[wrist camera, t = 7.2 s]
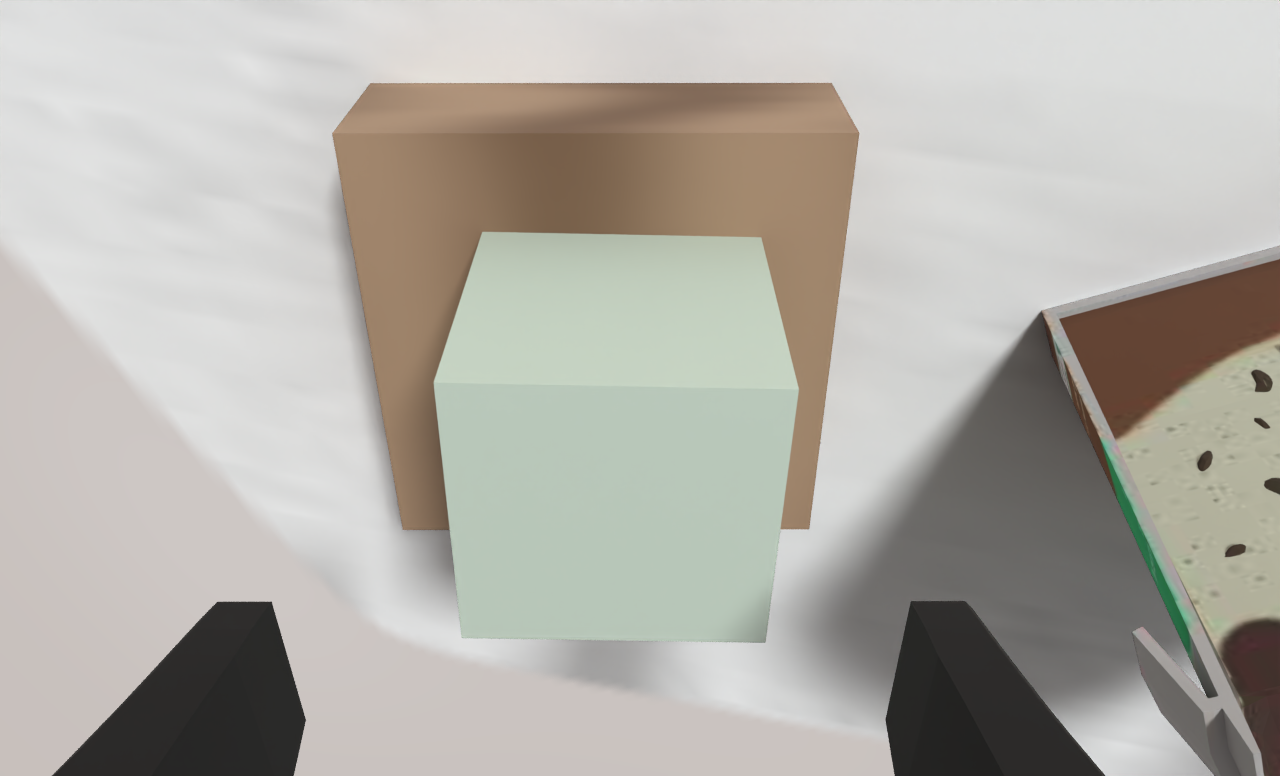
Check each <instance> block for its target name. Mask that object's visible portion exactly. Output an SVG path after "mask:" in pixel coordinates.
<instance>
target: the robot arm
mask: <svg viewBox="0 0 1280 776" xmlns="http://www.w3.org/2000/svg"><path fill="white" fill-rule="evenodd" d="M305 721H306V719H305V716H304V712H303V709H302V705H301V702H300V698H299V695H298V691H297V688H296V685H295V681H294V678H293V674H292V671H291V667H290V664H289V660H288V657H287V654H286V650H285V647H284V643H283V640H282V636H281V633H280V629H279V626H278V623H277V619H276V616H275V612H274V609H273V605H272V602H217V603H216V604H215V605H214V606H213V607H212V608H211V609H210V610H209V611H208V612H207V613H206V614H205V615H204V616H203V617H202V618H201V619H200V620H199V621H198V622H197V623H196V624H195V626H194V627H193V628H192V629H191V630H190V631H189V632H188V633H187V634H186V635H185V636H184V637H183V638H182V640H181V641H180V642H179V643H178V644H177V645H176V646H175V647H174V648H173V649H172V650H171V651H170V653H169V654H168V655H167V656H166V657H165V658H164V659H163V660H162V661H161V662H160V663H159V665H158V666H157V667H156V668H155V669H154V670H153V671H152V672H151V673H150V674H149V675H148V676H147V677H146V679H145V680H144V681H143V682H142V683H141V684H140V685H139V686H138V687H137V688H136V689H135V690H134V691H133V692H132V694H131V695H130V696H129V697H128V698H127V699H126V700H125V701H124V702H123V703H122V704H121V705H120V706H119V708H117V710H116V711H115V712H114V713H113V714H112V715H111V716H110V717H109V718H108V719H107V720H106V721H105V722H104V723H103V724H102V725H101V726H100V727H99V728H98V729H97V730H96V731H95V732H94V733H93V734H92V735H91V736H90V737H89V738H88V739H87V741H86V742H85V743H84V744H83V745H82V746H81V747H80V748H79V749H78V750H77V751H76V752H75V753H74V754H73V755H72V756H71V757H70V758H69V759H68V760H67V761H66V762H65V763H64V764H63V765H62V766H61V767H60V768H59V769H58V770H57V771H56V772H55V773H54V774H53V775H52V776H293V775H294V771H295V767H296V762H297V758H298V753H299V749H300V744H301V740H302V735H303V730H304V726H305ZM886 725H887V731H888V737H889V743H890V750H891V756H892V762H893V768H894V774H895V776H1105V775H1104V774H1103V772H1102V771H1101V770H1100V769H1099V768H1098V766H1097V765H1096V764H1095V763H1094V762H1093V761H1092V759H1091V758H1090V757H1089V756H1088V755H1087V753H1086V752H1085V751H1084V750H1083V749H1082V748H1081V746H1080V745H1079V744H1078V743H1077V742H1076V740H1075V739H1074V738H1073V737H1072V736H1071V735H1070V733H1069V732H1068V731H1067V730H1066V729H1065V727H1064V726H1063V725H1062V724H1061V722H1060V721H1059V720H1058V719H1057V718H1056V716H1055V715H1054V714H1053V713H1052V711H1051V710H1050V709H1049V708H1048V706H1047V705H1046V704H1045V703H1044V701H1043V700H1042V699H1041V698H1040V696H1039V695H1038V694H1037V692H1036V691H1035V690H1034V689H1033V687H1032V686H1031V685H1030V684H1029V682H1028V681H1027V680H1026V678H1025V677H1024V676H1023V675H1022V673H1021V672H1020V671H1019V669H1018V668H1017V667H1016V666H1015V664H1014V663H1013V662H1012V660H1011V659H1010V658H1009V656H1008V655H1007V654H1006V653H1005V651H1004V650H1003V649H1002V647H1001V646H1000V645H999V643H998V642H997V641H996V639H995V638H994V637H993V635H992V634H991V633H990V631H989V630H988V629H987V627H986V626H985V625H984V623H983V622H982V621H981V619H980V618H979V617H978V615H977V614H976V613H975V611H974V610H973V609H972V608H971V607H970V606H969V605H968V604H967V603H966V602H965V601H911V603H910V608H909V613H908V617H907V622H906V627H905V631H904V636H903V641H902V645H901V650H900V655H899V659H898V664H897V669H896V673H895V678H894V683H893V687H892V692H891V697H890V701H889V706H888V711H887V715H886Z"/></svg>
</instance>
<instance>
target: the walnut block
mask: <svg viewBox="0 0 1280 776" xmlns="http://www.w3.org/2000/svg"><path fill="white" fill-rule="evenodd" d="M332 134H333V140H334V146H335V151H336V157H337V162H338V168H339V174H340V179H341V185H342V190H343V196H344V202H345V207H346V213H347V218H348V224H349V230H350V235H351V241H352V247H353V252H354V258H355V263H356V269H357V275H358V280H359V286H360V291H361V297H362V303H363V308H364V314H365V319H366V325H367V331H368V336H369V342H370V348H371V353H372V359H373V364H374V370H375V376H376V381H377V387H378V392H379V398H380V404H381V409H382V415H383V420H384V426H385V432H386V437H387V443H388V449H389V454H390V460H391V465H392V471H393V477H394V482H395V488H396V493H397V499H398V505H399V510H400V516H401V521H402V527H403V530H450V527H449V518H448V509H447V500H446V491H445V482H444V473H443V464H442V455H441V446H440V437H439V428H438V419H437V410H436V401H435V392H434V380H435V377H436V374H437V370H438V367H439V364H440V361H441V358H442V355H443V352H444V349H445V346H446V343H447V339H448V336H449V333H450V330H451V327H452V324H453V321H454V318H455V315H456V312H457V308H458V305H459V302H460V299H461V296H462V293H463V290H464V287H465V284H466V281H467V277H468V274H469V271H470V268H471V265H472V262H473V259H474V256H475V253H476V250H477V247H478V243H479V240H480V237H481V234H482V232H518V233H569V234H620V235H671V236H722V237H761V238H762V242H763V246H764V251H765V255H766V259H767V263H768V267H769V271H770V275H771V279H772V283H773V287H774V291H775V295H776V299H777V303H778V307H779V311H780V315H781V319H782V323H783V327H784V331H785V335H786V339H787V343H788V347H789V351H790V355H791V359H792V364H793V368H794V372H795V376H796V380H797V384H798V388H799V393H798V400H797V408H796V415H795V423H794V430H793V438H792V445H791V453H790V461H789V468H788V476H787V483H786V491H785V498H784V506H783V513H782V521H781V528H780V529H809V525H810V517H811V510H812V502H813V494H814V486H815V478H816V470H817V462H818V454H819V446H820V439H821V431H822V423H823V415H824V407H825V399H826V391H827V383H828V375H829V368H830V360H831V352H832V344H833V336H834V328H835V320H836V312H837V304H838V297H839V289H840V281H841V273H842V265H843V257H844V249H845V241H846V233H847V226H848V218H849V210H850V202H851V194H852V186H853V178H854V170H855V162H856V155H857V147H858V139H859V132H858V130H857V128H856V126H855V125H854V123H853V121H852V119H851V117H850V116H849V114H848V112H847V110H846V108H845V106H844V105H843V103H842V101H841V99H840V97H839V96H838V94H837V92H836V90H835V88H834V87H833V85H832V83H370V85H369V86H368V87H367V89H366V90H365V91H364V93H363V94H362V95H361V97H360V98H359V99H358V100H357V102H356V103H355V104H354V106H353V107H352V108H351V110H350V111H349V112H348V114H347V115H346V116H345V118H344V119H343V120H342V121H341V123H340V124H339V125H338V127H337V128H336V129H335V131H334V132H333V133H332Z"/></svg>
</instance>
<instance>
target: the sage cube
mask: <svg viewBox="0 0 1280 776" xmlns="http://www.w3.org/2000/svg"><path fill="white" fill-rule="evenodd" d="M434 392H435V401H436V410H437V419H438V428H439V437H440V446H441V455H442V464H443V473H444V482H445V491H446V500H447V509H448V518H449V527H450V537H451V546H452V555H453V564H454V573H455V582H456V591H457V600H458V609H459V618H460V627H461V636H462V638H489V639H555V640H621V641H687V642H753V643H765V641H766V634H767V626H768V619H769V611H770V604H771V596H772V589H773V581H774V573H775V566H776V558H777V551H778V543H779V536H780V528H781V521H782V513H783V506H784V498H785V491H786V483H787V476H788V468H789V461H790V453H791V445H792V438H793V430H794V423H795V415H796V408H797V400H798V393H799V388H798V384H797V380H796V376H795V372H794V368H793V364H792V359H791V355H790V351H789V347H788V343H787V339H786V335H785V331H784V327H783V323H782V319H781V315H780V311H779V307H778V303H777V299H776V295H775V291H774V287H773V283H772V279H771V275H770V271H769V267H768V263H767V259H766V255H765V251H764V246H763V242H762V238H761V237H722V236H671V235H620V234H569V233H518V232H482V234H481V237H480V240H479V243H478V247H477V250H476V253H475V256H474V259H473V262H472V265H471V268H470V271H469V274H468V277H467V281H466V284H465V287H464V290H463V293H462V296H461V299H460V302H459V305H458V308H457V312H456V315H455V318H454V321H453V324H452V327H451V330H450V333H449V336H448V339H447V343H446V346H445V349H444V352H443V355H442V358H441V361H440V364H439V367H438V370H437V374H436V377H435V380H434Z"/></svg>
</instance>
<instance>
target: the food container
mask: <svg viewBox="0 0 1280 776" xmlns="http://www.w3.org/2000/svg"><path fill="white" fill-rule="evenodd" d="M1042 315H1043V320H1044V324H1045V328H1046V332H1047V337H1048V341H1049V345H1050V349H1051V353H1052V357H1053V359H1054V361H1055V364H1056V366H1057V368H1058V370H1059V372H1060V375H1061V377H1062V379H1063V381H1064V383H1065V386H1066V388H1067V390H1068V392H1069V394H1070V397H1071V399H1072V401H1073V403H1074V405H1075V408H1076V410H1077V412H1078V414H1079V416H1080V419H1081V421H1082V423H1083V425H1084V427H1085V430H1086V432H1087V434H1088V436H1089V438H1090V441H1091V443H1092V445H1093V447H1094V449H1095V452H1096V454H1097V456H1098V458H1099V460H1100V463H1101V465H1102V467H1103V469H1104V471H1105V474H1106V476H1107V478H1108V480H1109V482H1110V485H1111V487H1112V489H1113V491H1114V493H1115V496H1116V498H1117V500H1118V502H1119V504H1120V507H1121V509H1122V511H1123V513H1124V515H1125V518H1126V520H1127V522H1128V524H1129V526H1130V528H1131V531H1132V533H1133V535H1134V537H1135V539H1136V542H1137V544H1138V546H1139V548H1140V550H1141V553H1142V555H1143V557H1144V559H1145V561H1146V564H1147V566H1148V568H1149V570H1150V572H1151V575H1152V577H1153V579H1154V581H1155V583H1156V586H1157V588H1158V590H1159V592H1160V594H1161V597H1162V599H1163V601H1164V603H1165V605H1166V608H1167V610H1168V612H1169V614H1170V616H1171V619H1172V621H1173V623H1174V625H1175V627H1176V630H1177V632H1178V634H1179V636H1180V638H1181V641H1182V643H1183V645H1184V647H1185V649H1186V652H1187V654H1188V656H1189V658H1190V660H1191V663H1192V665H1193V667H1194V669H1195V671H1196V674H1197V676H1198V678H1199V680H1200V682H1201V685H1202V687H1203V689H1204V691H1205V693H1206V695H1205V694H1204V693H1203V692H1202V691H1201V690H1200V689H1199V688H1198V687H1197V685H1196V684H1195V683H1194V682H1193V681H1192V680H1191V679H1190V678H1189V677H1188V676H1187V675H1186V673H1185V672H1184V671H1183V670H1182V669H1181V668H1180V667H1179V666H1178V665H1177V664H1176V663H1175V661H1174V660H1173V659H1172V658H1171V657H1170V656H1169V655H1168V654H1167V653H1166V652H1165V650H1164V649H1163V648H1162V647H1161V646H1160V645H1159V644H1158V643H1157V642H1156V641H1155V640H1154V638H1153V637H1152V636H1151V635H1150V634H1149V633H1148V632H1147V631H1146V630H1145V629H1144V628H1143V627H1141V628H1139V629H1137V630H1135V631H1133V632H1132V635H1133V639H1134V643H1135V648H1136V652H1137V657H1138V661H1139V666H1140V670H1141V674H1142V676H1143V678H1144V680H1145V682H1146V684H1147V686H1148V688H1149V690H1150V692H1151V694H1152V696H1153V698H1154V700H1155V702H1156V704H1157V706H1158V708H1159V710H1160V711H1161V713H1162V714H1163V715H1164V717H1165V718H1166V719H1167V720H1168V721H1169V723H1170V724H1171V725H1172V726H1173V727H1174V728H1175V730H1176V731H1177V732H1178V733H1179V734H1180V735H1181V737H1182V738H1183V739H1184V740H1185V741H1186V742H1187V744H1188V745H1189V746H1190V747H1191V748H1192V749H1193V751H1194V752H1195V753H1196V754H1197V755H1198V757H1199V758H1200V759H1201V760H1202V761H1203V762H1204V764H1205V765H1206V766H1207V767H1208V768H1209V769H1210V771H1211V772H1212V773H1213V774H1214V775H1215V776H1280V246H1277V247H1273V248H1270V249H1266V250H1262V251H1259V252H1255V253H1252V254H1248V255H1244V256H1241V257H1237V258H1233V259H1230V260H1226V261H1222V262H1219V263H1215V264H1211V265H1208V266H1204V267H1200V268H1197V269H1193V270H1189V271H1186V272H1182V273H1178V274H1175V275H1171V276H1167V277H1164V278H1160V279H1156V280H1153V281H1149V282H1145V283H1142V284H1138V285H1134V286H1131V287H1127V288H1123V289H1120V290H1116V291H1112V292H1109V293H1105V294H1101V295H1098V296H1094V297H1090V298H1087V299H1083V300H1079V301H1076V302H1072V303H1068V304H1065V305H1061V306H1057V307H1054V308H1050V309H1046V310H1043V311H1042Z"/></svg>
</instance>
